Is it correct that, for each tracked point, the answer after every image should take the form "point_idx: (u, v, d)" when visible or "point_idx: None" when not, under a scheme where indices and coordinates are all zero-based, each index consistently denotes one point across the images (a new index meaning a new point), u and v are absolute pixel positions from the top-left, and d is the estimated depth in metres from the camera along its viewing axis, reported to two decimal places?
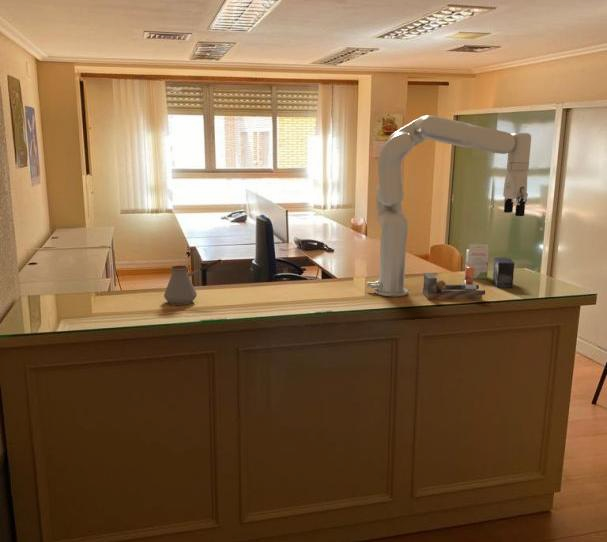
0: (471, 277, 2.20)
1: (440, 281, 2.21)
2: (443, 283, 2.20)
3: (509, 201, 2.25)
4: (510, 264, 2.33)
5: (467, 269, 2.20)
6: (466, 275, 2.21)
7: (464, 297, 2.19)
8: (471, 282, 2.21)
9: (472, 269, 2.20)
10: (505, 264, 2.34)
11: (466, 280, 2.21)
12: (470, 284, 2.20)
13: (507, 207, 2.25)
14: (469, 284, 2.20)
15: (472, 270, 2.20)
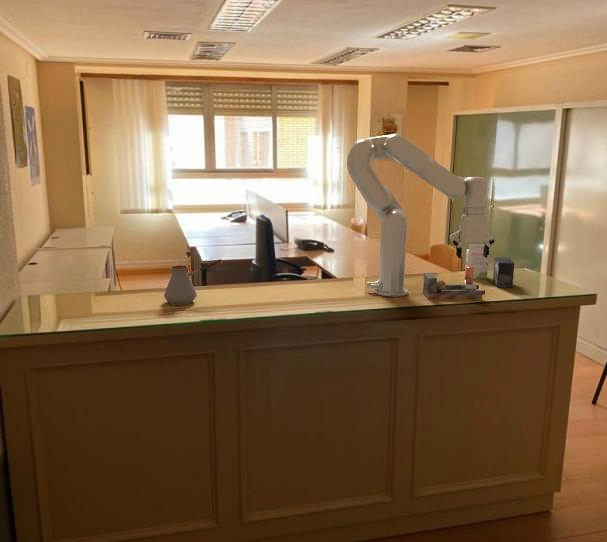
0: (471, 277, 2.20)
1: (440, 281, 2.21)
2: (443, 283, 2.20)
3: None
4: (510, 264, 2.33)
5: (467, 269, 2.20)
6: (466, 275, 2.21)
7: (464, 297, 2.19)
8: (471, 282, 2.21)
9: (472, 269, 2.20)
10: (505, 264, 2.34)
11: (466, 280, 2.21)
12: (470, 284, 2.20)
13: None
14: (469, 284, 2.20)
15: (472, 270, 2.20)
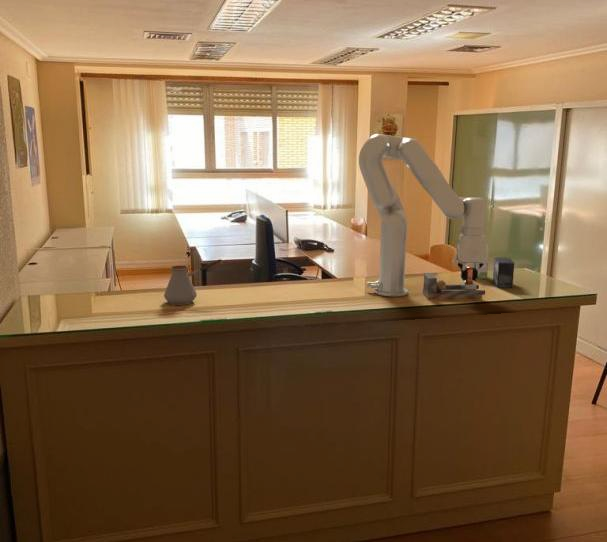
0: (471, 277, 2.20)
1: (440, 281, 2.21)
2: (443, 283, 2.20)
3: None
4: (510, 264, 2.33)
5: (467, 269, 2.20)
6: (466, 275, 2.21)
7: (464, 297, 2.19)
8: (471, 282, 2.21)
9: (472, 269, 2.20)
10: (505, 264, 2.34)
11: (466, 280, 2.21)
12: (470, 284, 2.20)
13: None
14: (469, 284, 2.20)
15: (472, 270, 2.20)
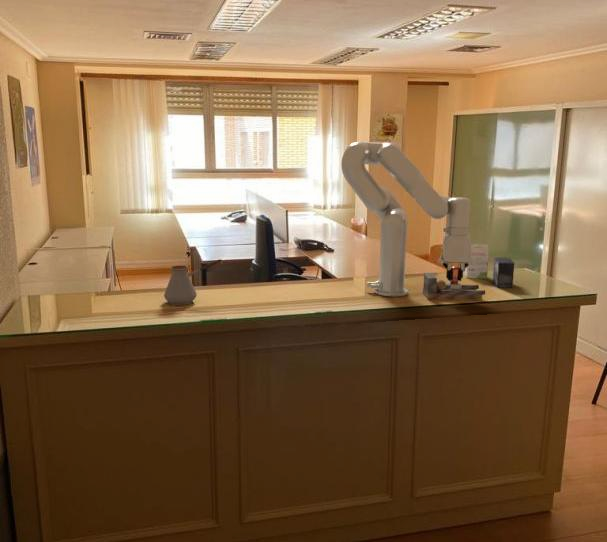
0: (456, 277, 2.20)
1: (440, 281, 2.21)
2: (443, 283, 2.20)
3: (450, 269, 2.21)
4: (510, 264, 2.33)
5: (452, 269, 2.20)
6: None
7: (464, 297, 2.19)
8: (456, 282, 2.21)
9: (457, 269, 2.19)
10: (505, 264, 2.34)
11: (451, 280, 2.21)
12: (455, 284, 2.20)
13: None
14: (454, 284, 2.20)
15: (457, 270, 2.20)
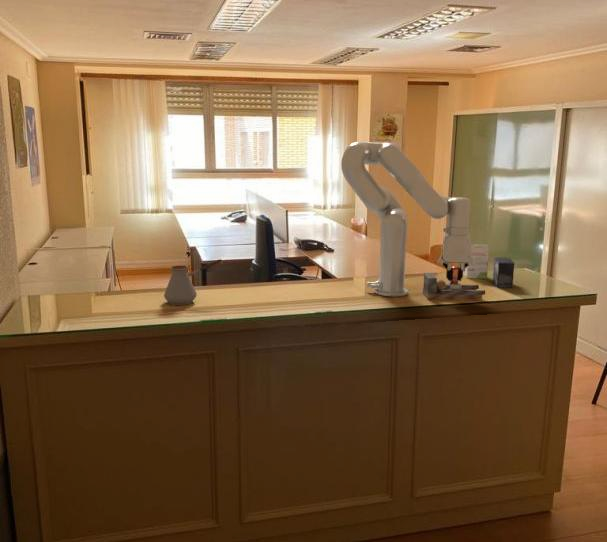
0: (456, 277, 2.20)
1: (440, 281, 2.21)
2: (443, 283, 2.20)
3: (450, 269, 2.21)
4: (510, 264, 2.33)
5: (452, 269, 2.20)
6: None
7: (464, 297, 2.19)
8: (456, 282, 2.21)
9: (457, 269, 2.19)
10: (505, 264, 2.34)
11: (451, 280, 2.21)
12: (455, 284, 2.20)
13: None
14: (454, 284, 2.20)
15: (457, 270, 2.20)
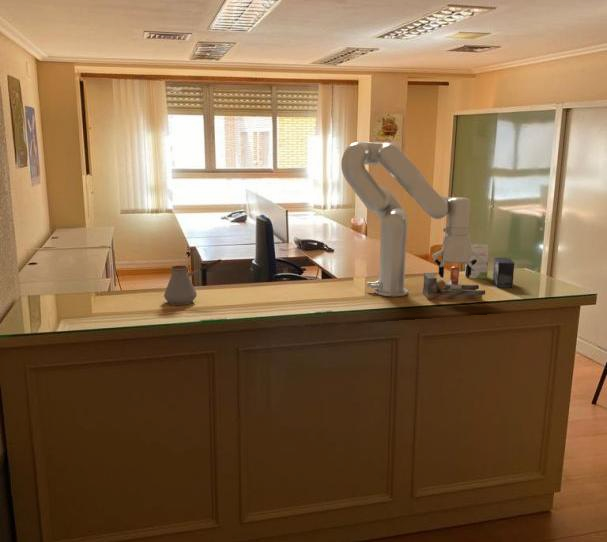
0: (456, 277, 2.20)
1: (440, 281, 2.21)
2: (443, 283, 2.20)
3: (442, 265, 2.21)
4: (510, 264, 2.33)
5: (452, 269, 2.20)
6: (451, 275, 2.21)
7: (464, 297, 2.19)
8: (456, 282, 2.21)
9: (457, 269, 2.19)
10: (505, 264, 2.34)
11: (451, 280, 2.21)
12: (455, 284, 2.20)
13: None
14: (454, 284, 2.20)
15: (457, 270, 2.20)
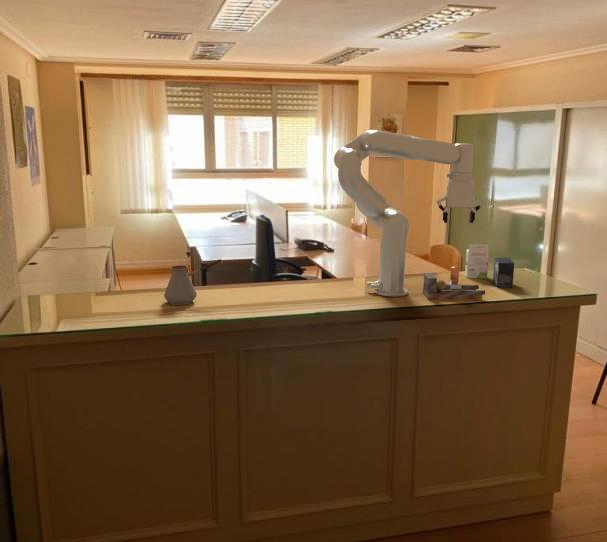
0: (456, 277, 2.20)
1: (440, 281, 2.21)
2: (443, 283, 2.20)
3: (446, 211, 2.25)
4: (510, 264, 2.33)
5: (452, 269, 2.20)
6: (451, 275, 2.21)
7: (464, 297, 2.19)
8: (456, 282, 2.21)
9: (457, 269, 2.19)
10: (505, 264, 2.34)
11: (451, 280, 2.21)
12: (455, 284, 2.20)
13: None
14: (454, 284, 2.20)
15: (457, 270, 2.20)
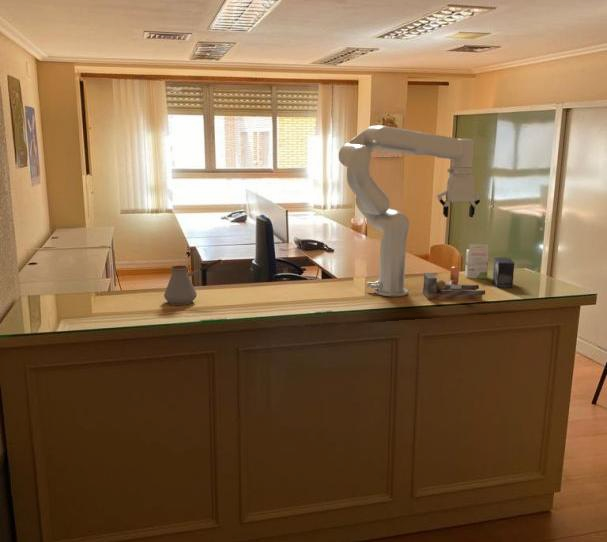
0: (456, 277, 2.20)
1: (440, 281, 2.21)
2: (443, 283, 2.20)
3: None
4: (510, 264, 2.33)
5: (452, 269, 2.20)
6: (451, 275, 2.21)
7: (464, 297, 2.19)
8: (456, 282, 2.21)
9: (457, 269, 2.19)
10: (505, 264, 2.34)
11: (451, 280, 2.21)
12: (455, 284, 2.20)
13: None
14: (454, 284, 2.20)
15: (457, 270, 2.20)
